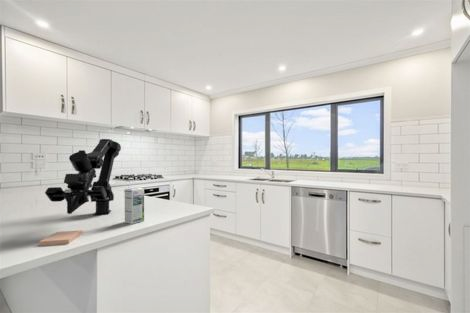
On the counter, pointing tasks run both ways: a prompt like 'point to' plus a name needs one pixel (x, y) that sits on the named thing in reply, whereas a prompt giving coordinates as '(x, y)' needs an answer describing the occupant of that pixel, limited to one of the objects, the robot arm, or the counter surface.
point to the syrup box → (134, 205)
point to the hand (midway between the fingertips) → (68, 213)
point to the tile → (61, 238)
